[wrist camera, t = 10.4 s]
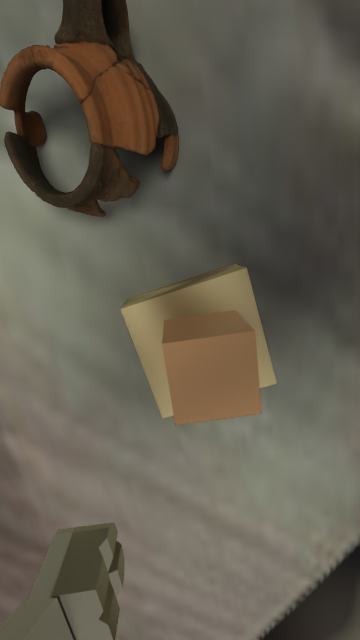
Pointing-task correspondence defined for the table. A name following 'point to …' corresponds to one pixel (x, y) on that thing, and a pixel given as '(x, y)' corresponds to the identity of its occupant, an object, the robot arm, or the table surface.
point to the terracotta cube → (211, 367)
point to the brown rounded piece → (91, 105)
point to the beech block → (184, 301)
